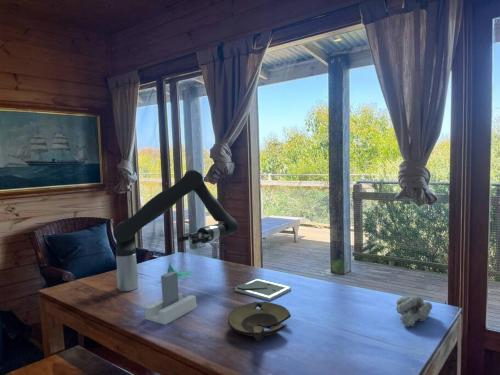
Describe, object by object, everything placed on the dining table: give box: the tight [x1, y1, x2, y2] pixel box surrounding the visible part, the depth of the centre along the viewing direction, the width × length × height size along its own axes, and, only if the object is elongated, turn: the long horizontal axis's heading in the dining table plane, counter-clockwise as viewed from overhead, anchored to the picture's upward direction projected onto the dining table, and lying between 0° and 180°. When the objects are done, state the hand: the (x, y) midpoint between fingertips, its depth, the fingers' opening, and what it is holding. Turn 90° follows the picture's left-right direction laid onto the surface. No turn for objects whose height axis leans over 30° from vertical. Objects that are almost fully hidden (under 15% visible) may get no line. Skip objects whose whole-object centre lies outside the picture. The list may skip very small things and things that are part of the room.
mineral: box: [395, 295, 433, 327], centre depth 133 cm, size 12×17×10 cm
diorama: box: [166, 262, 193, 280], centre depth 197 cm, size 12×20×9 cm, turn 140°
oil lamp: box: [227, 300, 292, 342], centre depth 129 cm, size 22×30×8 cm
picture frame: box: [234, 278, 292, 302], centre depth 169 cm, size 16×3×21 cm
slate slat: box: [160, 271, 180, 308], centre depth 148 cm, size 3×6×15 cm, turn 147°
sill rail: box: [144, 291, 198, 326], centre depth 148 cm, size 11×18×5 cm, turn 147°
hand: (185, 241), depth 162 cm, fingers open, 8 cm apart
